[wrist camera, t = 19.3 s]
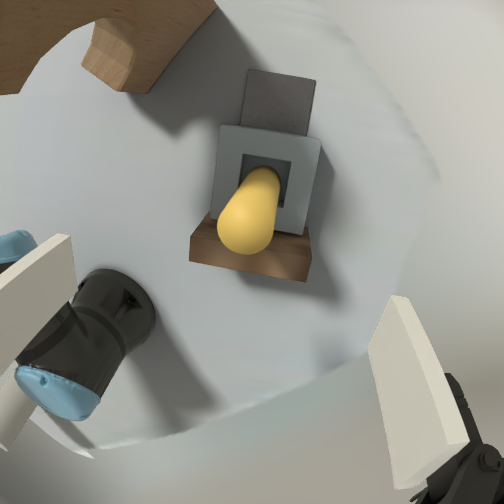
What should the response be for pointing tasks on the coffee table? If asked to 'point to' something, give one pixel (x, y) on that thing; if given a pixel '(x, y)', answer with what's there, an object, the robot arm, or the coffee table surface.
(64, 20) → the decorative block
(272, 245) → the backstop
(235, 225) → the dowel
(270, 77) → the dark grey flat board
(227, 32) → the coffee table surface
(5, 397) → the cylinder vase
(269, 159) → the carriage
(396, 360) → the robot arm
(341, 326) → the coffee table surface
